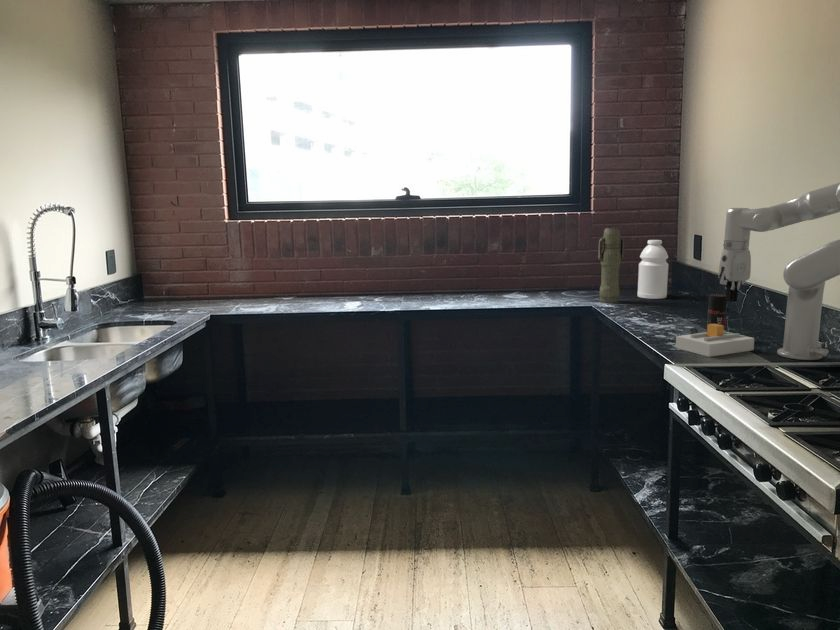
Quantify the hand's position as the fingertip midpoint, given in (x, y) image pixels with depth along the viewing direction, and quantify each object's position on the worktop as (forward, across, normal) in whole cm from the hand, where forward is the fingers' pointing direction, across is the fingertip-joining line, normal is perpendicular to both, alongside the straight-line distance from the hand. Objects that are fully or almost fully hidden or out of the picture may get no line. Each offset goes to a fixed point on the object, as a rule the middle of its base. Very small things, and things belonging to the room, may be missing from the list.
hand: (731, 301), depth 225 cm
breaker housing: (+16, -7, -1) cm, 17 cm away
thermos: (+17, +27, +92) cm, 98 cm away
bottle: (+17, +56, +94) cm, 110 cm away
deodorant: (+16, +9, +13) cm, 23 cm away
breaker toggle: (+12, -7, -1) cm, 13 cm away
